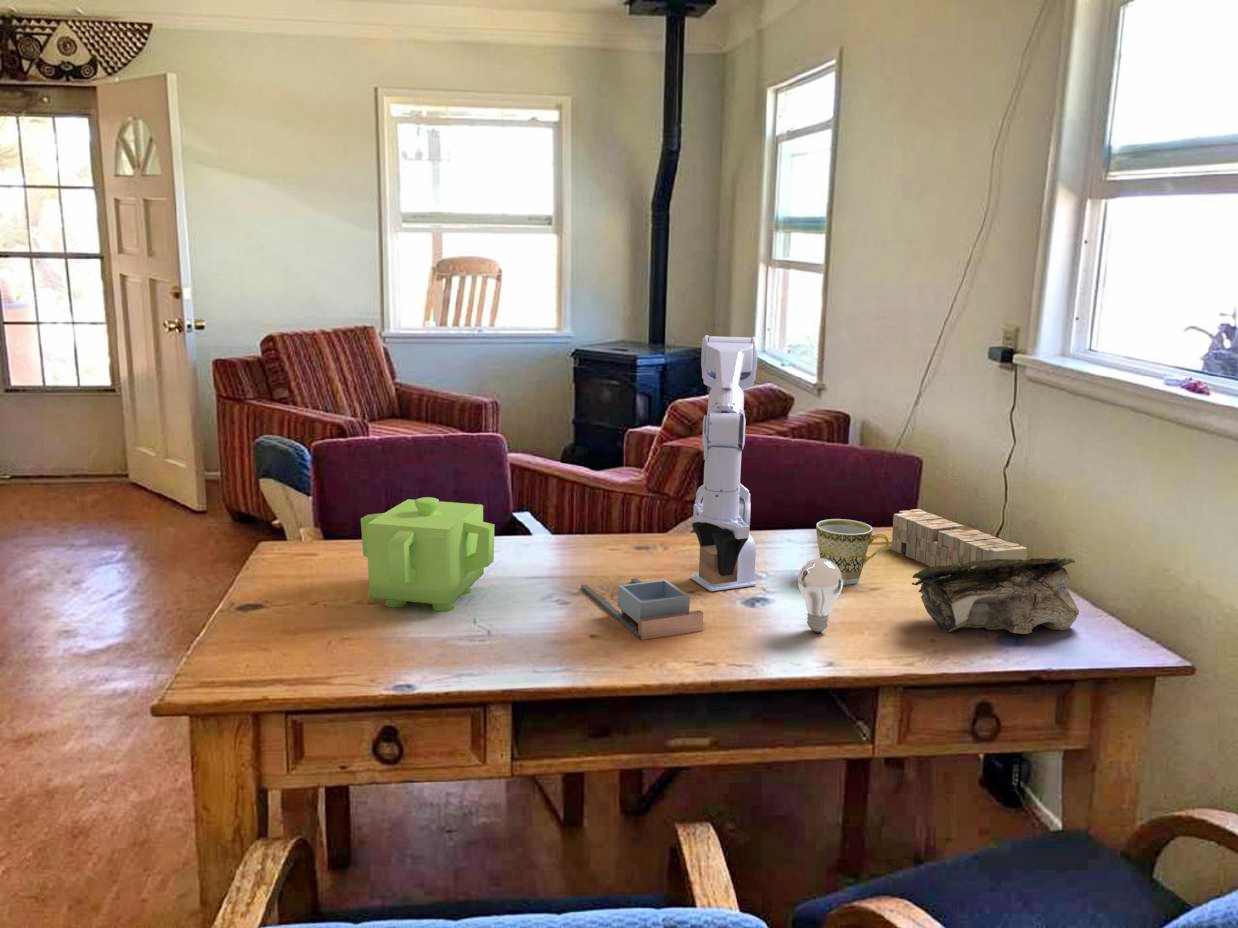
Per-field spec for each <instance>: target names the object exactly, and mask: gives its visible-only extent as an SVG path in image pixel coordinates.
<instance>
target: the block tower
mask: <svg viewBox="0 0 1238 928" xmlns="http://www.w3.org/2000/svg"><path fill="white" fill-rule="evenodd" d="M891 535H892V536H891V537H892V539H891V547H890V548H891V550H892V551H894V552H896V553H899V554H905V557H908V558H910V559H911V560H915V561H917V562H919V563H920V564H924V565H926V566H928V567H932V566H943V565H944V566H948V565H960V564H964V563H970V562H973V561H983V560H994V559H1017V560H1019V559H1021V560H1027V557H1028V548H1027V547H1026V546H1023V545H1020V544H1018V543H1015V542H1014V543H1013V542H1009V541H1007V540H1003V539H1002V538H997V537H996V536H993V535H991V534H989V533H985V532H983V531H982V532H981V531H980V530H978V529H972V530H964V525H963V524H961V523H957V522H953V521H951V520H948V519H946V518H943V517H942V516H939V515H936V514H933V513H929V512H928V511H924V510H923V509H920V508H916V509H914V508H913V509H909V510H899V512H898V513H893V520H892V534H891ZM950 576H951V575H949V577H950Z"/></svg>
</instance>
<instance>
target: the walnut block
mask: <svg viewBox="0 0 1238 928" xmlns="http://www.w3.org/2000/svg"><path fill="white" fill-rule="evenodd" d="M698 559H699V563H698V566H699V568H698V574H699V576H700V577H701V578H703V579H704V580H706V581H707V582H709V583H710V584H712V585H714V584H721V583H729V582H736V581H737V571H738V559H737V562H736V565H735V568H734V572H733V574H732V575H727V576H721V575H720V574H719V570H718V555H717V549H716V545H709V546H700V545H699V558H698Z"/></svg>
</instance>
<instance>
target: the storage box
mask: <svg viewBox="0 0 1238 928" xmlns="http://www.w3.org/2000/svg"><path fill="white" fill-rule="evenodd" d="M360 527H361V528H360V529H361V542H362V555H363V556H364V557H365V558H367V572H368V576H367V577H368V598H369V599H379V600H385V603H384V606H386V607H387V608H399V607H400V608H401V607H404V606H405V605H406V604H407V602H411V603H419V604H420V603H421V604H431V606H432V610H433V611H434V612H438V613H446V612H450V611H453V610H454V608H455V607H454V604H453V603H454V602H455V601H456V600H457V599H459V598H460V597H461V596H463V595H464V596H465V595H468V594H471V592H472V590H471V586H472V585H474V584H475V582H476V581H478V580H479V579H480V578H481V577H482V576H483V575H484V573H485V570H484V569H485V568H487V567H490V566H491V565H492V563H494V560H495V558H494V557H495V556H494V553H495V524H493V523H490V522H486V521H484V505H483V504H480V503H477V504H475V503H466V502H465V503H464V502H454V501H451V502H450V501H440V500H439V499H438V498H435V497H429V496H427V497H426V496H425V497H420V498H416V499H410V498H409V499H406V500H404V501H402V502H401V503H399V504H397V505H396V506H394V507H391V509H389V510H387V511H386V512H382V513H380V512H379V513H371V514H366V515H365V516H363V517H361V518H360Z"/></svg>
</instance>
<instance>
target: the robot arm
mask: <svg viewBox="0 0 1238 928" xmlns="http://www.w3.org/2000/svg"><path fill="white" fill-rule="evenodd" d="M700 355H701V358H700V360H701V361H700V362H701V363H700V366H701V378H702V380H703V385H705V386H707V387H709V388H710V390H709V393H708V401H707V411H706V412H707V413H706V415H705V414H704V416H703V420H702V421H703V422H702V445H703V460H704V462H703V463H704V464H703V465H704V467H703V484H702V485H701V486H699V487H698V488H697V491H696V492H695V493H696V494H695V501H694V504H693V512H692V513H693V522H692V524H691V525H692V526H691V528H692V529H693V530H694V532H695V534H696V535H695V536H696V537H697V540H698V543H699V547H700V546H709V545H716V549H717V555H718V570H719V574H720V575H721V576H727V575H732V574H733V572H734V568H735V565H736V562H737V559H738V571H737V581H736V582H729V583H721V584H714V585H712V584H710V583H709V582H707V581H706V580H704V579H703V578H701V577H700V576H699V573H698V574H691V575H690V577H689V578H690V579H691V580H693V581H694V582H696V583H697V584H699V585H701V586H702V587H703V588H705V589H707V590H708V591H709V592H716V591H724V590H730V589H731V590H732V589H739V588H746V587H753V586H754V587H755V586H757V582H756V580H755V579H756V578H755V577H756V560H757V559H756V558H757V557H756V556H757V549H756V548H757V547H756V544H755V540H754V538H753V537H752V535H751V534H750V525H751V493H750V490H749V489H748V488H747V487H745V486H744V485H743V484H742V483H741V469H742V452H743V450H744V447H745V442H746V422H747V421H746V415H745V410H744V407H745V405H744V404H745V394H744V391H745V390H747V389H749V388H751V387H753V386H754V385H755V384H754V383H755V381H756V376H757V370H758V356H759V339H758V338H757V337H756V336H752V337H750V336H749V337H745V336H743V337H742V336H712V335H710V336H709V334H708V335H707V334H706V335H705V336H704V337H703V338H702V341H701V354H700ZM739 444H740V445H741V446H742V447H740V446H739Z"/></svg>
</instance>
